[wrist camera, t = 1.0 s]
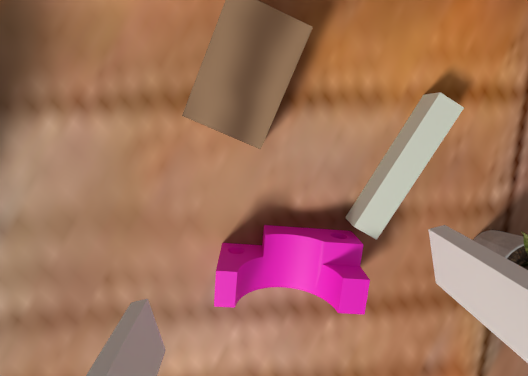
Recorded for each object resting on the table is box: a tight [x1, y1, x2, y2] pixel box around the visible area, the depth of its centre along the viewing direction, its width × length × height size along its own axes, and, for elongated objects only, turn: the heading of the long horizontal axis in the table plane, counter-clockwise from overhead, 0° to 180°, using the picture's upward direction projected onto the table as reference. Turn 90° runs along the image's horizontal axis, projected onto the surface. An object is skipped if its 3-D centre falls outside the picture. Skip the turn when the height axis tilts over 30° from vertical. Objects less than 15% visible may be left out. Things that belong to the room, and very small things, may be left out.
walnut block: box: [182, 0, 313, 149], centre depth 33 cm, size 8×12×5 cm, turn 157°
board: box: [345, 92, 464, 240], centre depth 37 cm, size 3×16×4 cm, turn 150°
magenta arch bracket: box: [214, 225, 370, 314], centre depth 36 cm, size 15×6×8 cm, turn 85°
